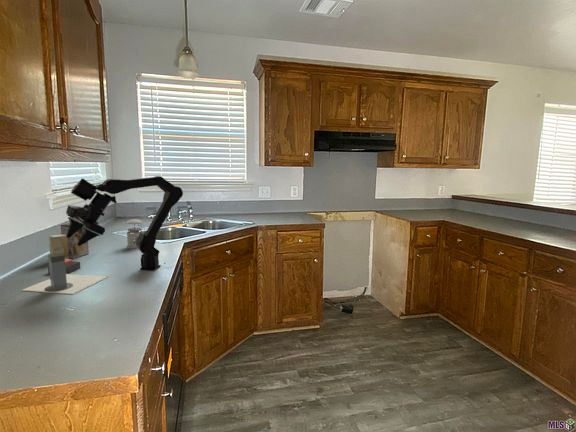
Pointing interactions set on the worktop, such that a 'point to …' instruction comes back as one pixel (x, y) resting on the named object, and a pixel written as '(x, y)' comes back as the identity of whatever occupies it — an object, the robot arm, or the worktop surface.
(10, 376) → the worktop surface
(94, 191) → the robot arm
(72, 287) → the paper sheet
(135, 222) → the french press
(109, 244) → the worktop surface
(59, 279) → the dark grey block
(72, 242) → the coffee box
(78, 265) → the button socket
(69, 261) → the button
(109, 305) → the worktop surface
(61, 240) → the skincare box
